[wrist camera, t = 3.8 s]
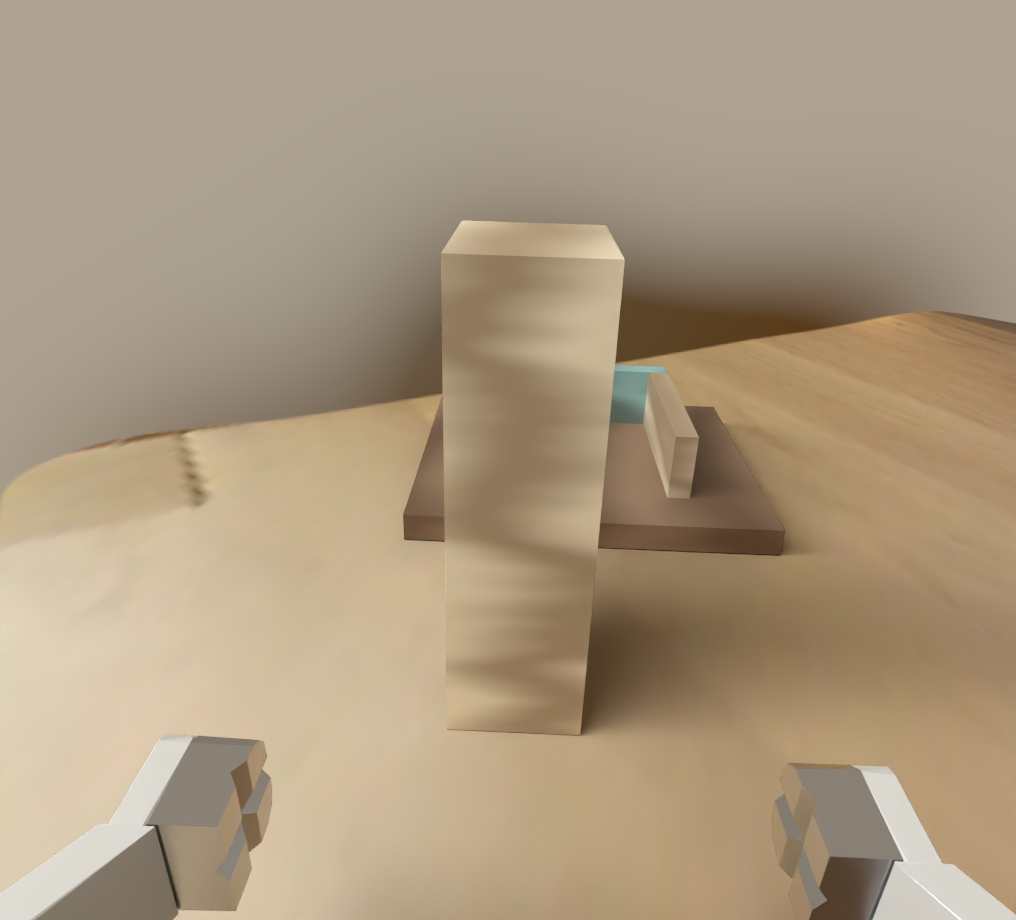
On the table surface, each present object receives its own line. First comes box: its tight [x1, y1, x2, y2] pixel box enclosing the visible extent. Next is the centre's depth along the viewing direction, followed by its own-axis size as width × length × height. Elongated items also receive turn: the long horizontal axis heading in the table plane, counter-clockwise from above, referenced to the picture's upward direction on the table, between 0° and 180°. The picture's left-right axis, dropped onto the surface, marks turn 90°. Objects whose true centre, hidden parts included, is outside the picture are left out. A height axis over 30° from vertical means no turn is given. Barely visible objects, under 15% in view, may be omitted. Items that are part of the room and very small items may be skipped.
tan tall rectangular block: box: [441, 221, 624, 735], centre depth 21 cm, size 4×5×14 cm
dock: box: [403, 365, 785, 555], centre depth 37 cm, size 16×14×4 cm
